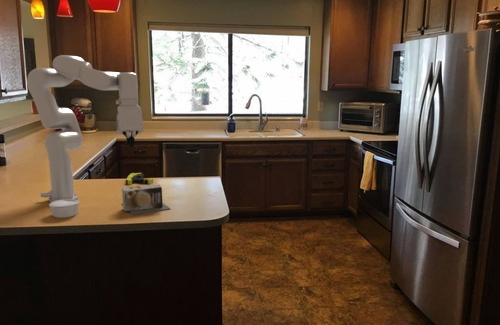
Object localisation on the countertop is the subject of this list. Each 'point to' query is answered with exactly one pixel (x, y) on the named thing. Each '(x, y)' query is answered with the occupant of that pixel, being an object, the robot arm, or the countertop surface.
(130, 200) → the coffee box
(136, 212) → the mat
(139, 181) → the stun gun
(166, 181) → the countertop surface
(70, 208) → the ramekin
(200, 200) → the countertop surface
